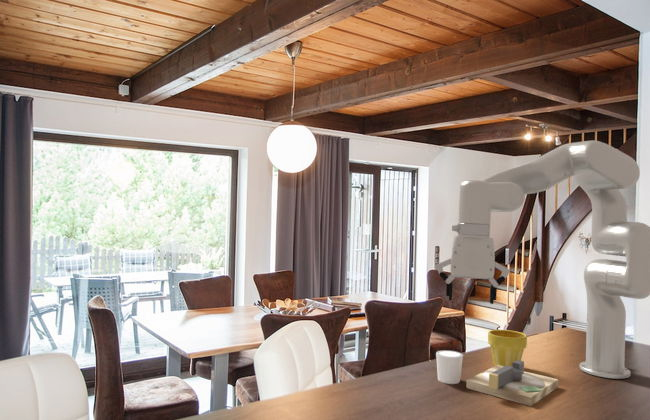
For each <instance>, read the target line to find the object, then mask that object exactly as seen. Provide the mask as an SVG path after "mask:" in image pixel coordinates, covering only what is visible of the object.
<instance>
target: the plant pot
mask: <svg viewBox="0 0 650 420" xmlns="http://www.w3.org/2000/svg"><path fill="white" fill-rule="evenodd" d="M487 342H488V345H489V346H490V350H491V356H492V362H493V365H494V366H496V365H500V366H506V365H507V366H511V367H512V362H514V361H516V360H520V361H522V358H523V354H524V351H525V349H526V348H527V346H528V345H527V344H528V336H527V334H526V333H523V332H519V331H515V330H510V329H509V330H508V329H491V330H488V332H487ZM494 366H493V367H494Z"/></svg>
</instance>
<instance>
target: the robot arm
mask: <svg viewBox="0 0 650 420" xmlns="http://www.w3.org/2000/svg"><path fill="white" fill-rule="evenodd" d="M640 175H641V170H640V166H639V164H638V163H637V161H636V160H635V159H634V158H633V157H631V156H630V155H628V154H626V153H624V152H623V151H621V150H619V149H617V148H615V147H613V146H612V145H610V144H608V143H605V142H602V141H599V140H584V141H576V142H571V143H565V144H562V145H559V146H558V147H556V148H554V149H552V150H550V151H548V152H546V153H544V154H542V155H541V156H538V157H537V158H535V159H533V160H530V161H529V162H525V163H522V164H519V165H517V166H514V167H512V168H508V169H505V170H504V171H501V172H499V173H496V174H494V175H492V176H490V177H487V178H485V179H484V180H464V181H463V182H461V184H460V185H459V199H458V200H459V202H458V224H455V225H452V226H451V231H453V232H456V233H457V235H455V236H454V238H453V242H452V248H451V256H450V258H448V259H446V260H443V261H441V262H439V263H436V264H435V268H436V270H437V272H438V274H439V277H440V278H441V279H442V280H443V281H444V282H445V283H446V292H445V296H446V297H448V301H452V300H453V299H452V298H453V288H454V287H453V286H454V285H453V280H455V279H456V278H462V279H464V278H465V279H475V280H476V279H478V280H488V282H489V283H490V286H489V297H488V299H489V300H488V301H489V304H491V305H494V301H497V294H498V293H497V291H498V289H497V288H498V287H499V286H501V284H503V282H505V280H506V279H507V277H508V276H509V274H510V273H511V271H510V269H509V268H508V267H506V266H504V265H502V264H500V263H498V262H497V261H495V259H496V257H495V242H494V238H493V237H491V217H492V216H491V215H492V213H512V212H516V211H517V210H519V209H520V208H521V207H522V206H523V205H524V204H525V203H524V202H525V197H526V195H530V194H536V193H541V192H544V191H548V190H549V189H552V188H553V187H555V186H557V185H558V184H560V183H562V182H564V181H566V180H567V179H570V178H572V177H573V179H574V180H575V181H574V182H576V184H577V185H578V186H579V187H580V188H581V189H582V190H583V191H584V192H585V193H586V194H587V197H588V198H589V200H590V203H591V211H592V212H591V246H592V248H593V250H594V251H595V252H597V253H599V254H602V255H606V256H607V255H609V256H615V257H626V259H625V260H626V261H623V260H617V259H616V260H615V259H606V258H605V259H604V258H599V259H595V260H592V261H590V262H588V263H587V265H586V266H585V268H584V272H583V280H584V287H585V290H586V302H587V303H586V307H587V308H586V336H585V337H586V341H585V361H582V362H580V363H579V369H580V370H581V371H582V372H585V373H586V374H589V375H592V376H595V377H600V378H605V379H614V380H615V379H616V380H619V379H628V378H630V377H631V376H632V375H631V374H632V373H631V370H630V369H628V368H627V367H625V357H626V356H625V355H626V353H625V352H626V351H625V350H626V318H627V317H626V316H627V313H626V312H627V311H626V307H625V304H624V301H623V299H622V298H621V297H623V298H628V299H629V298H630V299H636V300H643V299H646V298H648V297H649V296H650V226H649V225H648V224H646V223H644V222H639V221H628V219H627V218H628V215H627V214H628V213H627V212H628V211H627V210H628V208H627V207H628V205H627V201H626V198H625V197H624V195H623V194H622V192H621V190H625V189H629V188H631V187H633V186H635V185H636V184H637V183H638V180H640ZM449 265H450V274H449V275H447V274H446V273H445V271H444V268H445V267H447V266H449ZM495 270H499V271H501V275H500V276H498V278H496V279H495V278H494V276H495Z"/></svg>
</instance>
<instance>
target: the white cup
mask: <svg viewBox="0 0 650 420" xmlns="http://www.w3.org/2000/svg"><path fill="white" fill-rule="evenodd" d="M435 358H436V371H437V372H436V373H437V380H438V381H439V382H441V383H443V384H448V385H455V384H459V383H460V382H461V375H462V366H463V360H464V359H463V358H464V354H463V353H461V352H459V351H456V350H446V349H445V350H437V351H436V353H435Z"/></svg>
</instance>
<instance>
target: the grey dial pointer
mask: <svg viewBox="0 0 650 420" xmlns="http://www.w3.org/2000/svg"><path fill="white" fill-rule="evenodd" d="M524 369H525V361H524V360H521V361H520V360H516V361H514V362H512V367H511V366H507V365H506V366H504V367H502V368H500V369H498V370H496V371H494V372H492V373H490V374H489V388H492V389H498V388H500V387H501V386H503V385H505V384H507V383H509V382H510V381H512V380H513V381H520V380H522V375H523V374H524V371H525V370H524Z"/></svg>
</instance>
